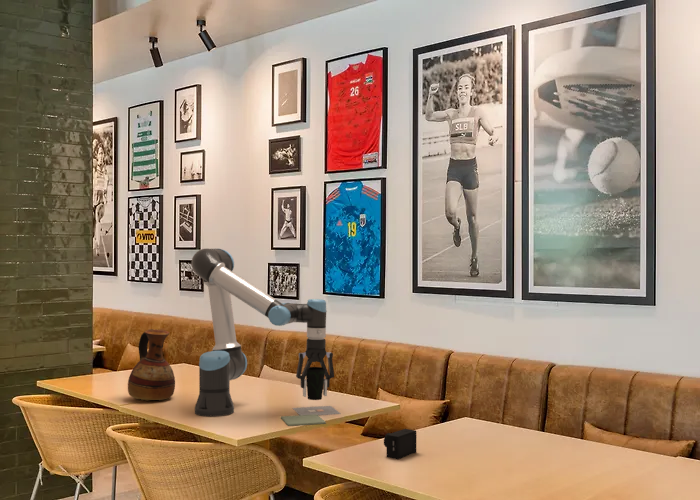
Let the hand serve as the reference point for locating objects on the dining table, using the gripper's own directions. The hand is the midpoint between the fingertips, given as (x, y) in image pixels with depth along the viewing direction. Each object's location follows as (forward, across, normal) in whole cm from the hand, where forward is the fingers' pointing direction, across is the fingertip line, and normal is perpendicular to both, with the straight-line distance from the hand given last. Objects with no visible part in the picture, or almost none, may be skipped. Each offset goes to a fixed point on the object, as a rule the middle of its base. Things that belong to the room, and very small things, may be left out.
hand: (314, 395), depth 297 cm
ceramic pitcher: (+8, -61, +43) cm, 75 cm away
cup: (+1, 0, 0) cm, 1 cm away
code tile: (+6, +1, 0) cm, 6 cm away
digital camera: (+5, +10, -71) cm, 72 cm away
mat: (+6, -8, -16) cm, 19 cm away
